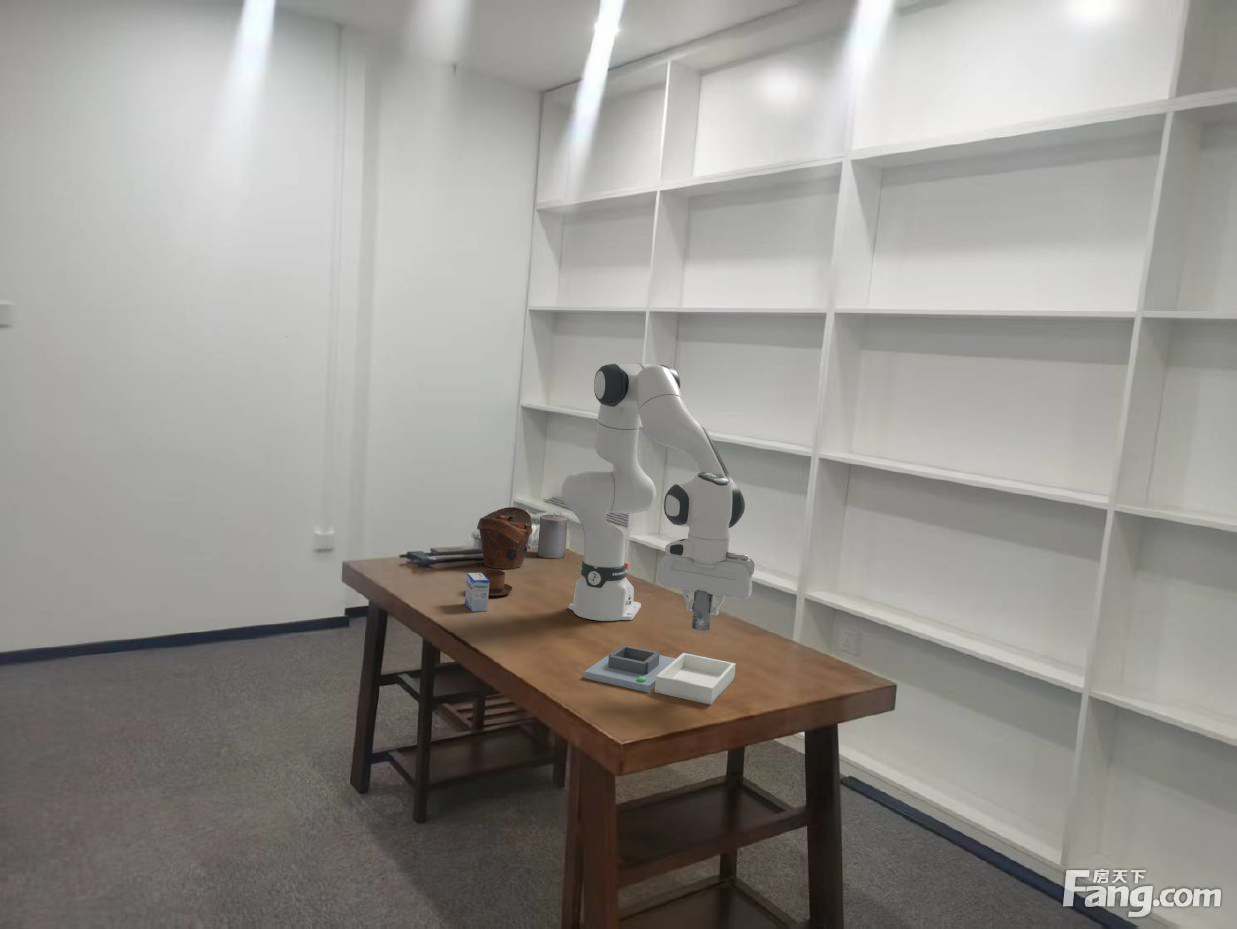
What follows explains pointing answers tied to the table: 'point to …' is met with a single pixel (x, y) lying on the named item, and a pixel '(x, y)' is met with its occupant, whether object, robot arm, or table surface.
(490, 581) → the cup and saucer
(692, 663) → the tray
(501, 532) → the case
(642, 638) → the table surface
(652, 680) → the tester cradle
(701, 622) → the cell
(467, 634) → the table surface
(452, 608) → the table surface
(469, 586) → the medicine box
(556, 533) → the pillar candle
